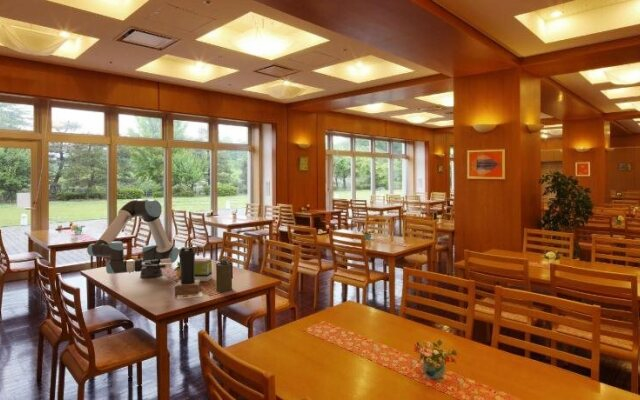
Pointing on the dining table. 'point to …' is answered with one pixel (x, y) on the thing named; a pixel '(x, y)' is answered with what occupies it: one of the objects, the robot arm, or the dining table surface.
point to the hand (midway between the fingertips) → (171, 262)
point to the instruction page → (189, 296)
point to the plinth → (187, 288)
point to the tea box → (203, 269)
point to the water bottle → (187, 265)
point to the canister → (224, 276)
